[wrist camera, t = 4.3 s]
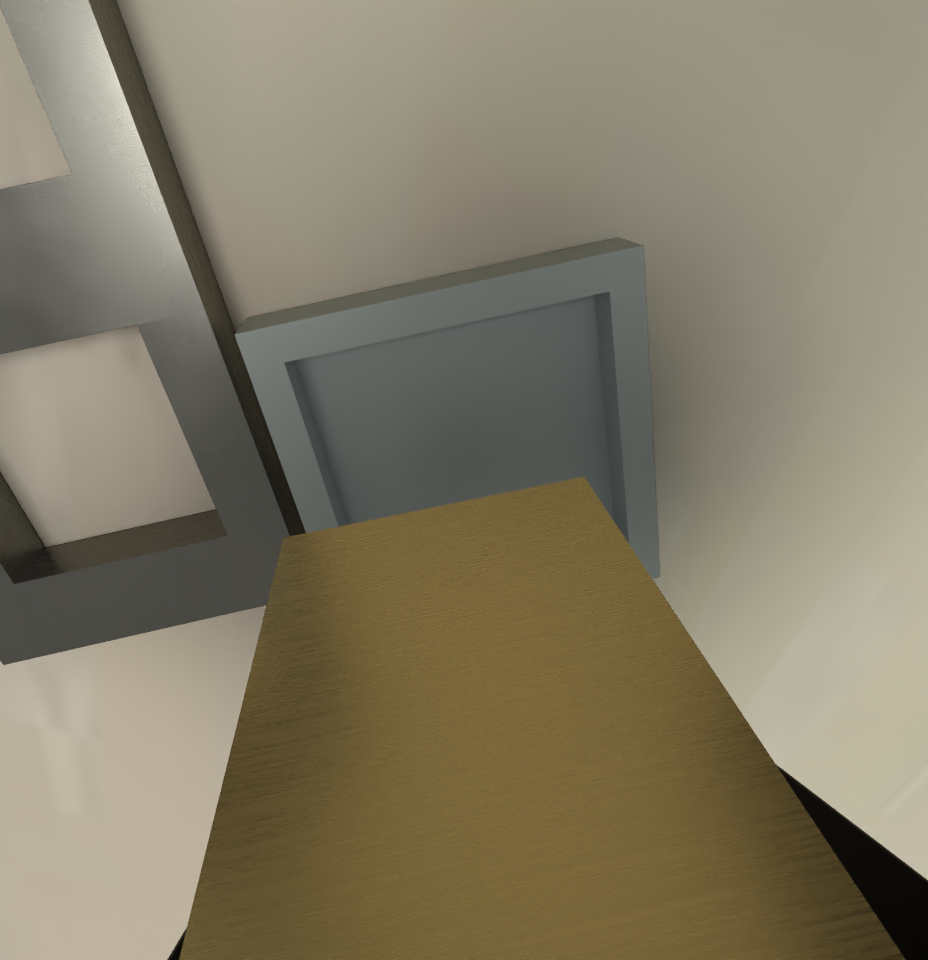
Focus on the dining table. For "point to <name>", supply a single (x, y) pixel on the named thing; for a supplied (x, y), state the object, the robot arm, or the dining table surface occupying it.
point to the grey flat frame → (167, 335)
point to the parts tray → (466, 390)
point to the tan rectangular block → (503, 762)
